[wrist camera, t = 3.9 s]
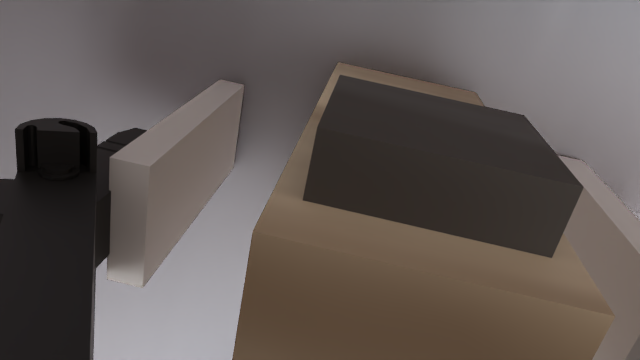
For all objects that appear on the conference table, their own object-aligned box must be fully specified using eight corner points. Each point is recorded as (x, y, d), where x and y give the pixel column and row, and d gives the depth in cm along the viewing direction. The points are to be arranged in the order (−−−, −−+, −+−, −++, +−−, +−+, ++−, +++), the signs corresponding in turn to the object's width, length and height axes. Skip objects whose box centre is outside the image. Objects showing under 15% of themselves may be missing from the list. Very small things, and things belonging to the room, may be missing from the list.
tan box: (427, 240, 17) (470, 582, 8) (306, 213, 17) (207, 515, 8) (487, 57, 14) (658, 237, 5) (345, 26, 14) (265, 147, 5)
